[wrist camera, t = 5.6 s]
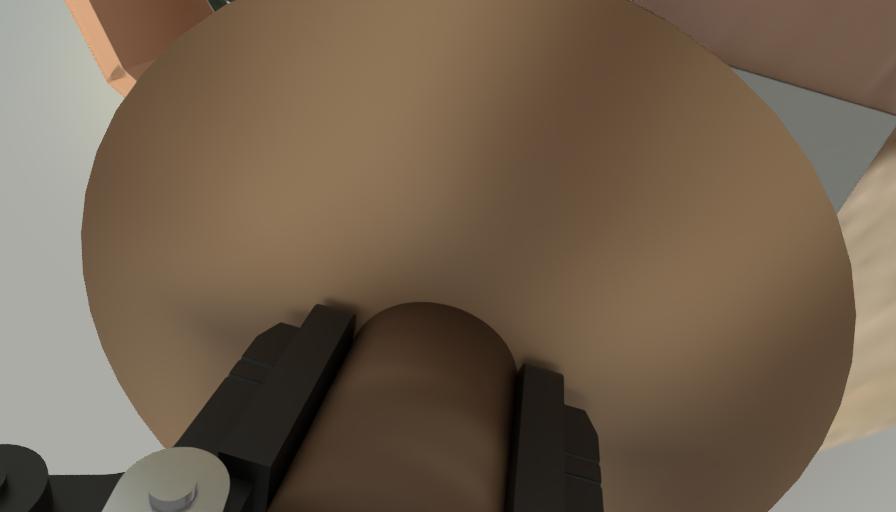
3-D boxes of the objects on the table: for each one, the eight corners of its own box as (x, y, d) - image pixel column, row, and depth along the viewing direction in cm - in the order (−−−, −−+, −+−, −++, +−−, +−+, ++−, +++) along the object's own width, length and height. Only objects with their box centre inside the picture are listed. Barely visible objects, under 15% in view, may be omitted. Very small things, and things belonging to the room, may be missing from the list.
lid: (1044, 96, 8) (1577, 277, 4) (646, 630, 15) (679, 897, 11) (73, -155, 8) (-396, -239, 4) (130, 475, 15) (-27, 674, 11)
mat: (896, 115, 23) (901, 118, 23) (716, 386, 31) (718, 391, 30) (532, 7, 24) (532, 8, 23) (444, 300, 31) (443, 304, 31)
